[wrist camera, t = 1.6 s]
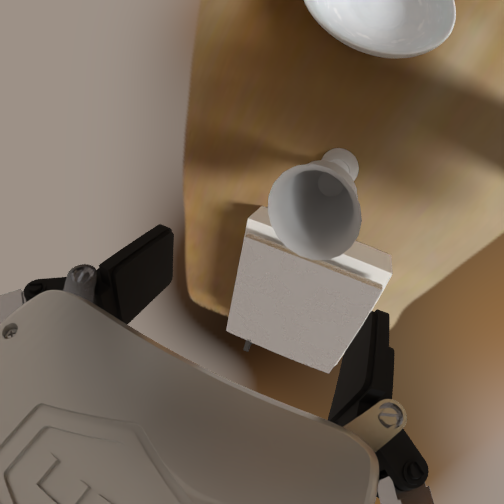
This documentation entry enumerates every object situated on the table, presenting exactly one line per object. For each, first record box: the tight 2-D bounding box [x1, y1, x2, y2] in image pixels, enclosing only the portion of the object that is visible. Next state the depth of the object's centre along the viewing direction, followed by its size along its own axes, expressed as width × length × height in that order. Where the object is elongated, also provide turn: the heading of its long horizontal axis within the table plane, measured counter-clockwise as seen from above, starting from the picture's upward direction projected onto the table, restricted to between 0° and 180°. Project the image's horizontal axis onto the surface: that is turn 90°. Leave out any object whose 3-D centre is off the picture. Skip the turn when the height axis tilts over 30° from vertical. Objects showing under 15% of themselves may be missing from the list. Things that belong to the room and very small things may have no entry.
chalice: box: [268, 148, 362, 260], centre depth 27 cm, size 7×7×18 cm
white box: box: [226, 233, 382, 373], centre depth 41 cm, size 18×21×6 cm
